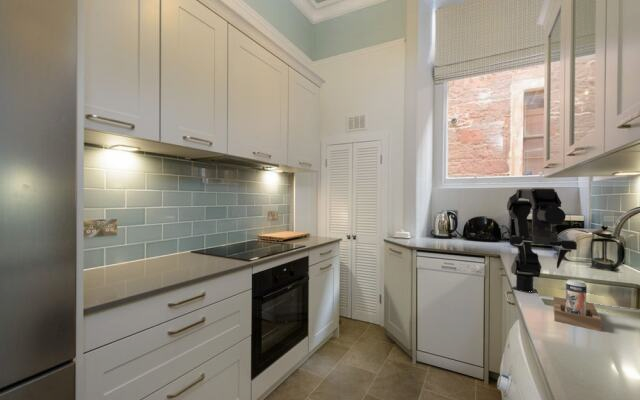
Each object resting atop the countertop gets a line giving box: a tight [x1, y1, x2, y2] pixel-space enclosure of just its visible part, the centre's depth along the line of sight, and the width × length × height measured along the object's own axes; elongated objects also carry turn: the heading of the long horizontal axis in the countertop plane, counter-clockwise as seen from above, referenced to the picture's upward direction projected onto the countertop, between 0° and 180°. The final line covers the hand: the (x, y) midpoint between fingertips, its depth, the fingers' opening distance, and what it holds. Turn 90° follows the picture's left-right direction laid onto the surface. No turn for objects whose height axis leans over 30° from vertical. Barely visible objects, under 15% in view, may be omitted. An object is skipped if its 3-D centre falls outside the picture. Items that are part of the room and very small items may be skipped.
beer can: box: [565, 278, 588, 316], centre depth 86 cm, size 5×5×12 cm
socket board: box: [553, 296, 602, 332], centre depth 89 cm, size 18×10×3 cm, turn 141°
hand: (540, 266), depth 102 cm, fingers open, 9 cm apart
